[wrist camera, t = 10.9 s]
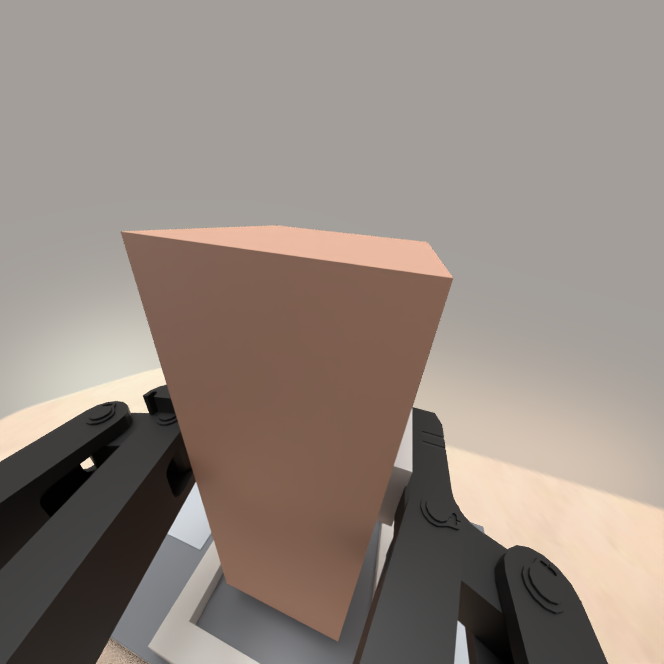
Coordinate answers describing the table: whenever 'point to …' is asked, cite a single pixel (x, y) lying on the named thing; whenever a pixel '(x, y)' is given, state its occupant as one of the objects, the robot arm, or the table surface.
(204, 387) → the terracotta pillar
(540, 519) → the table surface
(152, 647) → the base board
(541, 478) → the table surface
